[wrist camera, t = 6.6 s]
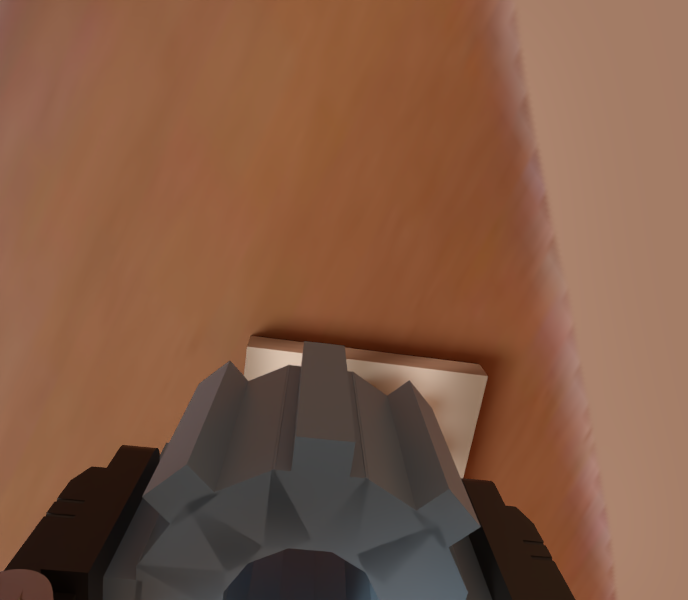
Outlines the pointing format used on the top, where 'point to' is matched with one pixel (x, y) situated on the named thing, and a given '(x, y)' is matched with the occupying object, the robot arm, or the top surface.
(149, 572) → the loose gear
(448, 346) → the top surface
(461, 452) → the gear board
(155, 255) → the top surface
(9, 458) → the top surface
